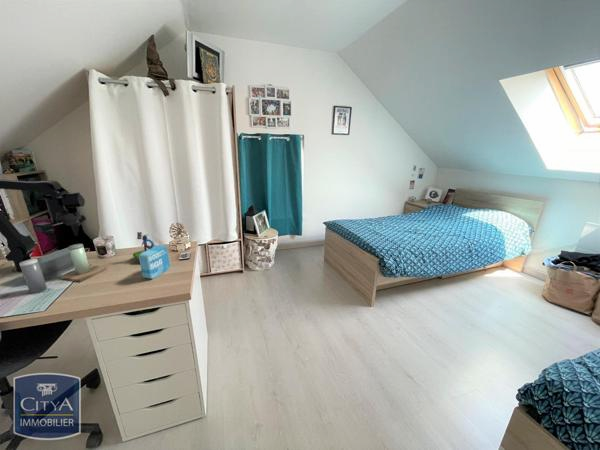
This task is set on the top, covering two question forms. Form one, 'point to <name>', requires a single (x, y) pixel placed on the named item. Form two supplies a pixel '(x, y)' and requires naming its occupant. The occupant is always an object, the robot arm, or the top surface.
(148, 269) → the data package
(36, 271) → the grey cylinder
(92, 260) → the top surface
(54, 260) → the slate unit
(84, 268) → the sage canister
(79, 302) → the top surface
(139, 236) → the pirate figurine
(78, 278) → the walnut plate
